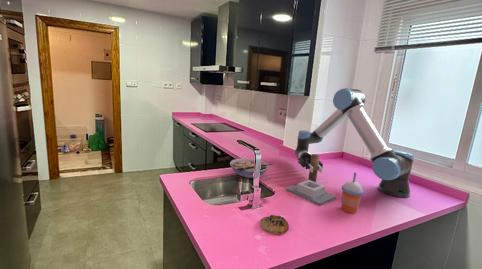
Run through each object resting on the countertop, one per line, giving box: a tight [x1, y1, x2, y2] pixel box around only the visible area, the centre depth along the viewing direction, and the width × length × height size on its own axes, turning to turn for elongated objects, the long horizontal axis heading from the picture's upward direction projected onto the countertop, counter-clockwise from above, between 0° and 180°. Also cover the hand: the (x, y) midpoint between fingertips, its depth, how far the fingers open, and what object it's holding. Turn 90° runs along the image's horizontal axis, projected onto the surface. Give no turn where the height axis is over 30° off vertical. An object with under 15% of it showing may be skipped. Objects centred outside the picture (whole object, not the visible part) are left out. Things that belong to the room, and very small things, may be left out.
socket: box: [285, 179, 336, 207], centre depth 128 cm, size 20×14×5 cm
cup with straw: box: [341, 172, 365, 214], centre depth 113 cm, size 9×9×18 cm
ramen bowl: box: [229, 157, 273, 179], centre depth 147 cm, size 25×23×8 cm
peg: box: [307, 153, 320, 183], centre depth 143 cm, size 4×4×16 cm
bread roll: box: [259, 214, 290, 235], centre depth 96 cm, size 11×11×5 cm
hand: (316, 170), depth 138 cm, fingers closed on peg, 4 cm apart
